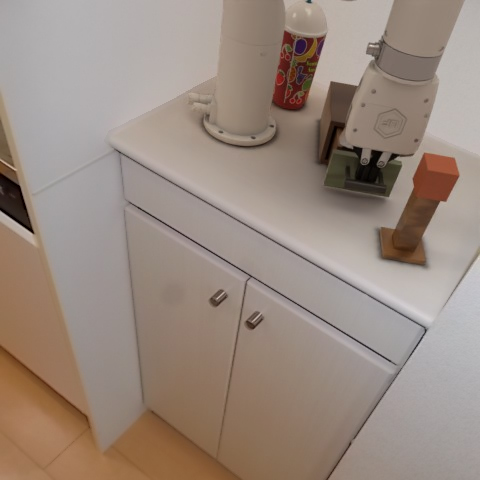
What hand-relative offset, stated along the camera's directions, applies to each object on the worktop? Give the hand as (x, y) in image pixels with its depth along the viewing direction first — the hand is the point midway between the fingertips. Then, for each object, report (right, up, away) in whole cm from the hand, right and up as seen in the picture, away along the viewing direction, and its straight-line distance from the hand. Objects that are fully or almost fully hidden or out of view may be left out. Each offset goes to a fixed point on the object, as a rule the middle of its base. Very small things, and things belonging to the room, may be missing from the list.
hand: (363, 184), depth 78 cm
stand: (+5, -10, -3) cm, 11 cm away
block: (+6, -4, -10) cm, 13 cm away
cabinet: (+1, +10, +13) cm, 17 cm away
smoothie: (-9, +21, +21) cm, 31 cm away
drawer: (0, +3, +6) cm, 6 cm away
